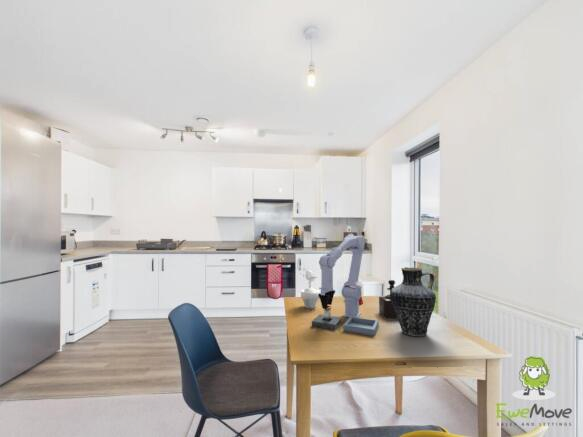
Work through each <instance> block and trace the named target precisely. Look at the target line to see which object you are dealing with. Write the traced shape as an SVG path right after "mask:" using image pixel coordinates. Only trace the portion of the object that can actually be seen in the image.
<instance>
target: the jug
mask: <svg viewBox="0 0 583 437" xmlns="http://www.w3.org/2000/svg"><path fill="white" fill-rule="evenodd" d="M401 273H402V276H403V278H402V282H401V283H399V284H398V285H396V286H394V288H393V289H392V290H391V293H390V292H389V295H390V298H391V302H392V305H393V308H394V310H395V312H396V315H397V318H396V319H397V320H398V323H399V326H400V328H401V332H402V333H404V334H405V335H408V336H412V337H424V336H426V335H427V332H428V328H429V324H430V322H431V317H432V315H433V311H434V309H435V306H436V305H435V304H436V301H437V300H436V299H437V297H436V296H437V295H436V293H435V292H434V290H433V286H434V283H435V275H434V273H433V272H430V271H429V270H427V271H423V268H422V267H407V266H406V267H401ZM424 276H429V282H428V285H426V286H425V285H424V284H423V283H422V277H424Z"/></svg>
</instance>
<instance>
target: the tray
mask: <svg viewBox="0 0 583 437" xmlns="http://www.w3.org/2000/svg"><path fill="white" fill-rule="evenodd" d="M379 322H380V321H379V319H372V318H367V317H359V316H358V317H352V316H350V317H348V319H347V320H346V322H345V323H344V324H343V332H344V333H345V332H346V333H351V334H352V333H353V334H358V335H365V336H371V337H375V335H376V333H377V332H378V328H379V324H380V323H379Z"/></svg>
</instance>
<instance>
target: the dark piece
mask: <svg viewBox="0 0 583 437" xmlns="http://www.w3.org/2000/svg"><path fill="white" fill-rule="evenodd" d="M395 284H396V280H394V279H390V280H388V285H389V287H387V288H386V290H388V291H389V294H387V295H384V296H378V310H379V315H380V316H383V318H385V319H398V318H397V315H396V312H395V310H394V308H393V305H392V302H391V298H390V293H391V290H392V289H393V288H394V287H395Z"/></svg>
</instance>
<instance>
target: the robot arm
mask: <svg viewBox="0 0 583 437" xmlns="http://www.w3.org/2000/svg"><path fill="white" fill-rule="evenodd" d="M365 244H366V241H365V238H364V237H363V236H362V235H349V234H347V235H346V236H345V237H344V238H343V241H342V242H341V243H340V244H339V245H338V246H337V247H332V248H331V250H329V252H327V253H326V254H325V255H323V254H322V256H320V258H319V261H318V264H319V267H320V270H321V275H320V276H321V278H320V279H321V286H319V289H318V290H320V293H319V294H318V296H319V300H320V303H321V308H322V309H323V310H324V309H327V306H332V304H333V299H334V295H335V294H336V290H335V289H334V281H333V280H334V279H333V278H334V274H333V273H334V267H335V265H336V263H337V261H338V260H339V259H341V257H342V255H343V252H344V251H346V250H347V249H348V250H349V251H351V252H352V256H351V263H350V268H349V274H348V279H347V281H345V282H344V283H343V287H342V288H341V296H342V297H343V300H344V313H343V315H342V317H345V318H350V316H352V317H359V316H360V315H361V311H360V305H359V301H358V300H359V299H360V298H361V297H362V285H361V284H360V283H359V276H360V271H361V264H362V258H363V252H364V250H365Z"/></svg>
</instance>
